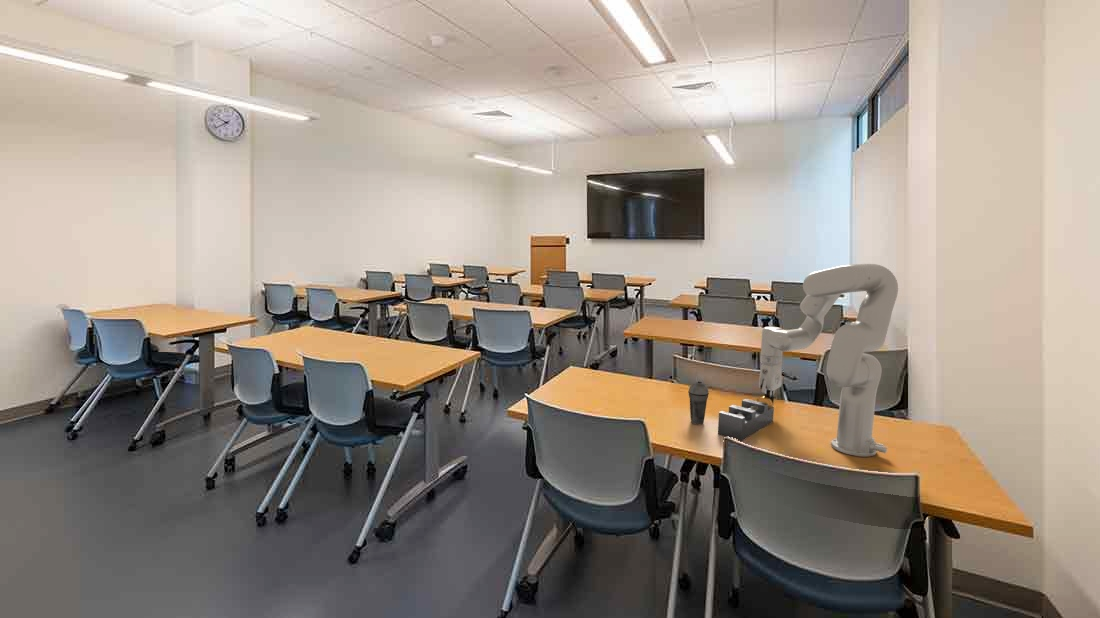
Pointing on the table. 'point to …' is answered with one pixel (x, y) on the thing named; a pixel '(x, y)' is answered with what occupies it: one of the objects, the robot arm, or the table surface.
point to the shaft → (761, 399)
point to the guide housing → (744, 419)
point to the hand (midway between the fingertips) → (768, 405)
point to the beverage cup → (698, 401)
